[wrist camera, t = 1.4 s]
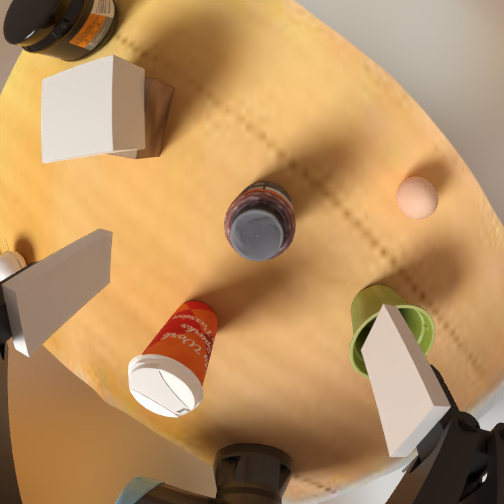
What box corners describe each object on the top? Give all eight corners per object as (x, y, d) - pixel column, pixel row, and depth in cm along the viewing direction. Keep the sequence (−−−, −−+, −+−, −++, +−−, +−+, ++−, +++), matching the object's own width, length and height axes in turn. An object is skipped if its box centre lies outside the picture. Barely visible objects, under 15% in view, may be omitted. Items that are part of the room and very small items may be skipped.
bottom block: (159, 156, 33) (135, 159, 27) (102, 146, 33) (73, 149, 27) (174, 88, 30) (153, 78, 24) (115, 83, 30) (87, 76, 24)
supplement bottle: (261, 244, 35) (249, 289, 24) (226, 203, 33) (198, 230, 23) (304, 212, 33) (313, 244, 22) (269, 169, 32) (261, 179, 21)
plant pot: (356, 260, 34) (376, 294, 26) (421, 282, 34) (450, 317, 26) (326, 326, 37) (334, 371, 29) (388, 343, 37) (406, 385, 29)
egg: (429, 203, 31) (452, 213, 25) (398, 220, 32) (418, 233, 27) (415, 167, 30) (438, 172, 24) (383, 184, 31) (401, 192, 25)
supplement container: (137, 7, 26) (86, -31, 15) (89, 74, 30) (25, 60, 18) (89, -11, 25) (38, -40, 14) (48, 50, 28) (-11, 36, 17)
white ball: (34, 283, 41) (12, 297, 35) (13, 272, 41) (-8, 284, 35) (33, 240, 38) (8, 252, 33) (11, 230, 38) (-12, 240, 33)
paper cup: (238, 324, 38) (217, 404, 25) (198, 352, 40) (167, 428, 27) (195, 280, 37) (151, 348, 24) (157, 313, 39) (109, 380, 26)
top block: (145, 148, 26) (112, 150, 21) (80, 158, 27) (42, 163, 22) (144, 69, 24) (113, 54, 18) (79, 85, 25) (42, 79, 19)
